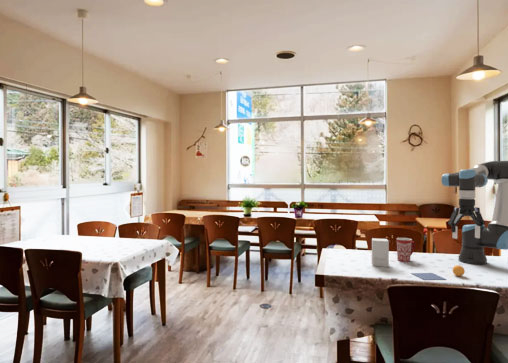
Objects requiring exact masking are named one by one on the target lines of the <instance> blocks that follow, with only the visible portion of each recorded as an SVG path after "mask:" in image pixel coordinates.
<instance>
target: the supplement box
mask: <svg viewBox="0 0 508 363" xmlns="http://www.w3.org/2000/svg"><path fill="white" fill-rule="evenodd" d="M389 247H390V240H388V239H387V238H376V237H375V238H374V237H372V238H371V264H372V267H383V268H384V267H385V268H389V266H390V264H389V260H390V259H389V255H390V250H389V249H390V248H389Z"/></svg>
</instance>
